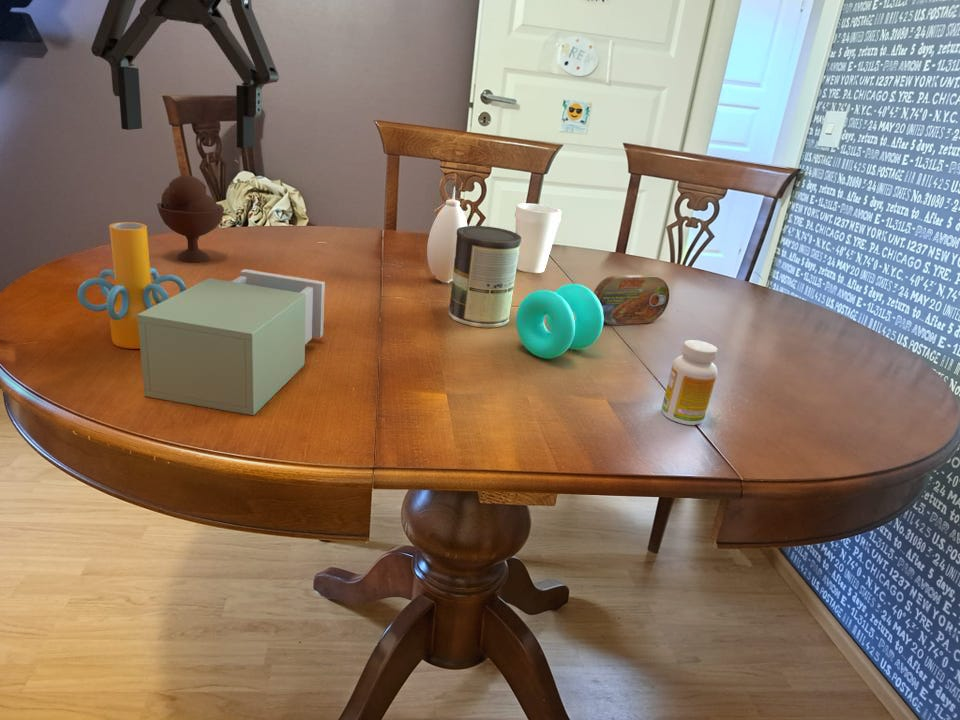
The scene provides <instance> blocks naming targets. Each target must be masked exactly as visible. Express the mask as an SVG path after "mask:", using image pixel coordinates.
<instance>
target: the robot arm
mask: <svg viewBox="0 0 960 720" xmlns="http://www.w3.org/2000/svg"><path fill="white" fill-rule="evenodd" d="M225 1H226V3H227V5H228V6H230V7H231V11H232V14H233V17H234V19H235V21H236V24H237V26H238V29H239V31H240V34H241V36H242V38H243V41H244V43H245V45H246V48H247V50H248V53H249V55H250V57H249V56H248V54H247V53H246V51H245V50H244V48H243V46H242V45H241V43H240V42H239V40H238V39H237V38H236V36H235V34H234V33H233V32H232V30H231V29H230V27H229V25H228V21H227V20H226V18H225V16H223V14H222V13H221V11H220V9H219V8H218V6H219V5H220V3H221V2H222V0H145V1H144V2H143V3H142V4H141V6H140V7H139V13H138V14H137V16H136V17H135V18H134V20H133V21H132V22H131V23H130V25H129V26H128V23H129V20H130V18H131V15H132V12H133V10H134V8H135V6H136V2H137V0H108V1H107V4H106V7H105V10H104V12H103V15H102V18H101V21H100V23H99V26H98V29H97V31H96V34H95V37H94V40H93V42H92V45H91V49H90V50H91V53H92V55H93V56H95V57H98V58H100V59H103V60H104V61H106V62H107V63H108V64H109V67H110V73H111V74H110V75H111V84H112V85H111V86H112V87H111V88H112V93H113V95H114V96H115V97H118V99H119V109H120V110H119V112H120V125H121V130H126V131H129V130H131V131H132V130H138V129H139V130H140V129H143V121H142V105H141V89H140V72H139V71H140V70H139V68H138V67H134V65H135V64H134V63H133V61H134V60H135V59H136V58H137V56H138V55H139V54H140V53H141V51H142V50H143V49H144V47H146V45H147V44H148V42H149V41H150V39H151V38H152V37H153V35H154V34H155V33H156V31H157V30H158V29H159V28H160V26H161V25H162V24H164V23H166V22H167V21H174V22H181V23H183V22H184V23H188V24H189V23H190V24H193V25H201V26H202V27H203V28H205V30H207V32H208V33H209V34H210V35H211V37H212V38H213V39H214V41H215V42H216V44H217V45H218V47H219V49H220V50H221V51H222V53H223V54H224V56H225V57H226V59H227V60H228V62H229V63H230V64H231V66H232V68H233V69H234V71H235V72H236V73H237V75H238V76H239V78H240V80H242V82H241V84H236V87H235V89H236V90H235V94H236V96H235V97H236V98H235V99H236V101H235V102H236V148H239V149H247V148H253V147H255V118H256V119H257V118H260V117H261V115H262V92H263V91H262V89H263V87H264V86H265V85H268V84H269V85H270V84H272V83H273V84H274V83H277V82H279V80H280V75H279V72H278V69H277V67H276V65H275V62H274V60H273V57H272V55H271V52H270V50H269V48H268V45H267V43H266V40H265V38H264V35H263V33H262V30H261V28H260V25H259V23H258V20H257V18H256V15H255V13H254V11H253V5H252V0H225ZM127 26H128V27H127ZM126 28H127V29H126ZM250 58H251V59H250Z"/></svg>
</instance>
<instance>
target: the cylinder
mask: <svg viewBox="0 0 960 720" xmlns="http://www.w3.org/2000/svg"><path fill="white" fill-rule="evenodd" d="M108 228H109V237H110V238H109V239H110V249H111V257H112V258H111V259H112V266H113V267H112V268H113V269H110V268H105V269H103V270H101V272H99V275H98V277H93V278H88V279H86V280H85V281H83V282H82V283H81V284H80V285H79V287H78V289H77V294H76V295H77V299H78V301H79V304H81V306H82V307H83V308H85V309H87V310H89V311H93V312H104V311H106V312H107V314H108V316H109V325H110V326H109V327H110V335H111V341H112V343H113V345H115V346H117V347H119V348H123V349H130V350H132V349H133V350H134V349H136V350H137V349H140V339H139V328H138V322H139V321H138V318H137V314H139V313H141V312H143V311H145V310H147V309H149V308H151V307H153V306H155V305H157V304H159V303H161V302H163V301H165V300H167V299H169V298H170V296H169V294H168V292H167V291H166V289H165V288H164V287H162V285H161V284H162V283H165V282H173V283H175V284H176V285H178V287H179V293H181V292H183V291H185V290H186V289H187V285H186V283H185V282H184V280H183V279H181V278H180V277H179V276H177V275H174V274H163V275H159V272H158V270H157V269H156V268H154V267H151V263H150V251H149V239H148V238H149V237H148V226H147V225H146V224H144V223H141V222H136V221H135V222H134V221H133V222H132V221H121V222H113V223H110V224H109V225H108ZM107 276H110V278H112V279H113V280H114V284H113V283H112V282H111V281H110V280H107V279H106V278H107ZM94 285H98V288H99V290H100V292H101V294H102V295H103V297H104V298H105V299H106V302H105V303H102V304H93V303H92V302H90V301H88V299H87V298H86V291H87V290H88V288H89V287H91V286H94Z"/></svg>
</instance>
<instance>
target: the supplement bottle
mask: <svg viewBox="0 0 960 720" xmlns="http://www.w3.org/2000/svg"><path fill="white" fill-rule="evenodd" d="M682 345H683V346H682V349H681V354H682V355H679V356H677V357H676V358H675V359H674V360H673V362H672V365H671V369H670V372H669V377H668V381H667V385H666V389H665V392H664V396H663V401H662V404H661V412H662V414H663V416H664V417H666V418H667V419H669V420H671V421H672V422H675V423H679V424H683V425H687V426H696V425H699V424H701V423H703V422H704V420H705V418H706V414H707V412H708V408H709V404H710V400H711V397H712V394H713V390H714V386H715V383H716V379H717V375H718V367H717V365H715V364H714V361H715V360H716V357H717V353H718V348H717V347H716V346H715V345H713V344H711V343H709V342H706V341H702V340H697V339H687V340H685V341H684V342H683V344H682Z"/></svg>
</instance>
